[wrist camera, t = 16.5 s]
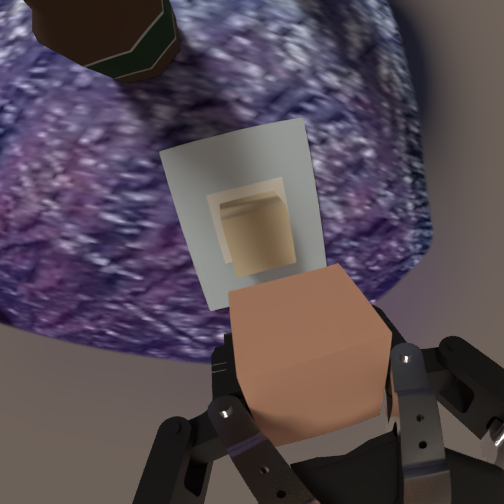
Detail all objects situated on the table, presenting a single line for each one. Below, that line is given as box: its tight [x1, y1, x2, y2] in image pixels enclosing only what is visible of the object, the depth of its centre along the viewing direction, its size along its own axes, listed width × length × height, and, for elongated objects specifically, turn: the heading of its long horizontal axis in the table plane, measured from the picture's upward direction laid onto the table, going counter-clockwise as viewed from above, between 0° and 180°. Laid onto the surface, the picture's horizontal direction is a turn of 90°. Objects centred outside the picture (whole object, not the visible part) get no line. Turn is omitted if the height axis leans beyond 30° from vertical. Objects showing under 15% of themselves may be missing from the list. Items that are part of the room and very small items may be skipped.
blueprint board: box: [159, 118, 327, 311], centre depth 29 cm, size 13×17×1 cm
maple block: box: [220, 190, 296, 278], centre depth 26 cm, size 5×5×5 cm
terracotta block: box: [228, 264, 392, 447], centre depth 12 cm, size 5×5×5 cm
